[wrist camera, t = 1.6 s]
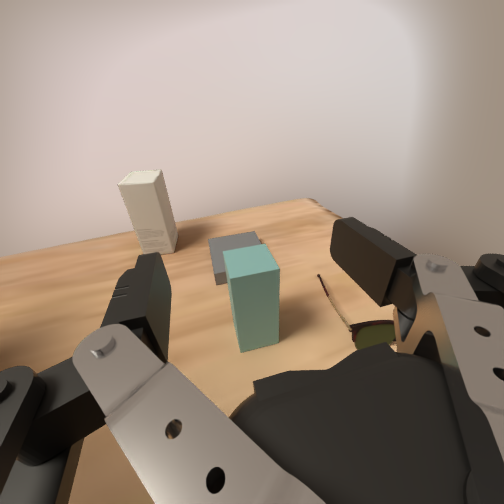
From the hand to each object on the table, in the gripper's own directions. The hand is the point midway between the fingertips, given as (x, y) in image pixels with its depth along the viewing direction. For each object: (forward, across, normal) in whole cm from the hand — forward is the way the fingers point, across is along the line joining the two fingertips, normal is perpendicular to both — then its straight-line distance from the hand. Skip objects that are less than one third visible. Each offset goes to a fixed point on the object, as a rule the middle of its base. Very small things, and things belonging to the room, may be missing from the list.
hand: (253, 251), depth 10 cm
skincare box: (+39, +12, +20) cm, 46 cm away
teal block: (+11, -2, +20) cm, 23 cm away
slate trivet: (+28, -3, +20) cm, 34 cm away
